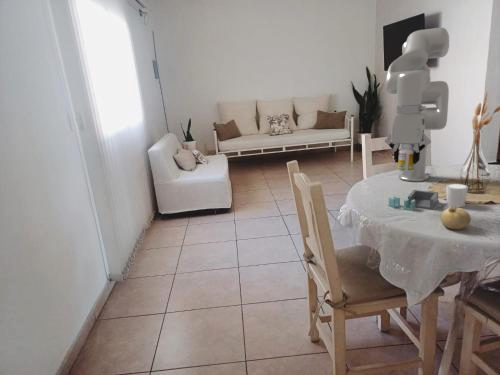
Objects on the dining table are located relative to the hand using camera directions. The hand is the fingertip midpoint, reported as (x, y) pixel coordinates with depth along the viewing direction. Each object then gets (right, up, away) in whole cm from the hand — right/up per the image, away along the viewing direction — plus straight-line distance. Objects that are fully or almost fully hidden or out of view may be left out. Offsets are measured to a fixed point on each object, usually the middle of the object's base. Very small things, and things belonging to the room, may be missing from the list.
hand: (406, 161), depth 125 cm
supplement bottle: (0, -3, +1) cm, 3 cm away
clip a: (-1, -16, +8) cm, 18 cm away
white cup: (+20, -15, +4) cm, 25 cm away
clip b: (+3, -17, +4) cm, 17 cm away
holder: (+9, -15, +7) cm, 19 cm away
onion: (+9, -22, -13) cm, 27 cm away
